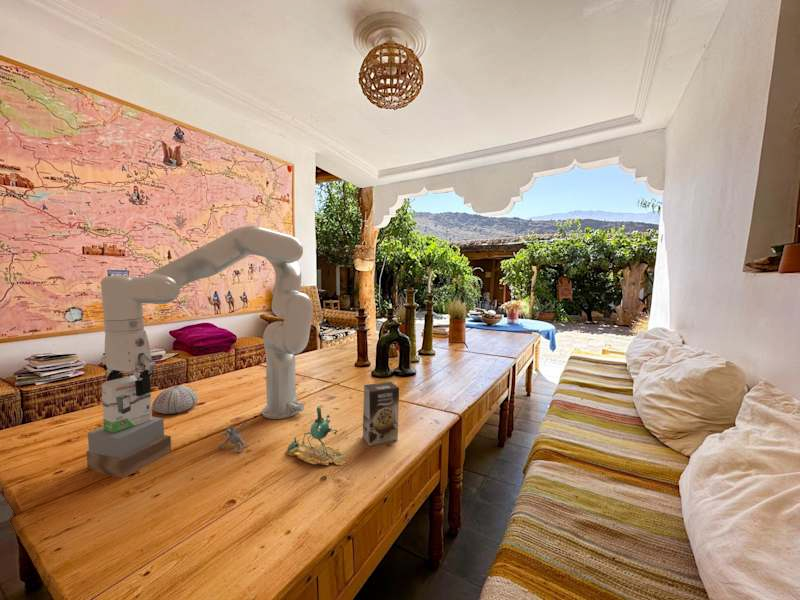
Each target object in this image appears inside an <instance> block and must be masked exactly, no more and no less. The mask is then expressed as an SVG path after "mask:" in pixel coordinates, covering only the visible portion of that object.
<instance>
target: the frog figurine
mask: <svg viewBox="0 0 800 600" xmlns="http://www.w3.org/2000/svg"><path fill="white" fill-rule="evenodd" d="M316 413H317V418H316V419H315V420H314V421H313V423H312V424H311V426H310V431H308V432H304V434H303V441H302V442H300V441H299V440H296V439H297V438H296V437H294V440H293V441H291V443H289V445H288V447H287V449H286V450H285V451H284V454H285V455H286V456H291V457H297V459H300V460H302V461H304V462H305V463H308V464H312V465H322V466H323V465H325V466H329V464H334V465H336V466H343V465H344V464H346V462H347V461H346V459H345V458H343V456H342V452H341V451H340V450H338V449H337V448H335V445H327V444H326V445H325V443H324V442H323V441H322V440H323V439H324V438H326V437H327V436H328V435H329V433H330V432H331V433H333V434H334V435H337V432H338V430H337V429H335V430H334V429H332V426H331V428H330V426H329V424H330V422H331V420H330V417H331V416H330V415H329V414H328V415H326V419H324V418H323V417H322V409H321V407H320V406H317V407H316ZM306 435H310V436H308V438H307V441H308V442H305V436H306ZM310 438H311V439H310ZM313 440H318V441H319V442H317V441H316V442H310V441H313Z"/></svg>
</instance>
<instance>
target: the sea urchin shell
mask: <svg viewBox="0 0 800 600" xmlns="http://www.w3.org/2000/svg"><path fill="white" fill-rule="evenodd" d="M197 394H198V393H197V392H196V391H194V389H193V388H191V387H189V386H186V385H173V386H170V387H168V388H166V389H165V390H164V389H163V390H162V391H161V392H160V393H159V394H158V395H157V396H156V397H155V399H154V400H153V402H152V403H151V408H153V410H154V412H156V413H158V414H161V415H162V414H163V415H168V414H169V415H175V414H177V413H178V414H179V413H183V412H184V411H188V410H189V409H191V408H193V407H195V405H197V403H198V401H199V396H198V395H197Z"/></svg>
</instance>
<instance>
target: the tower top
mask: <svg viewBox="0 0 800 600" xmlns="http://www.w3.org/2000/svg"><path fill="white" fill-rule="evenodd" d="M164 422H165V421H164V418H162V417H156V416H152V420H150V421H148V422H145V423H142V424H139V425H136V426H133V427H130V428H127V429H124V430H121V431H118V432H115V433H113V432H110V431H107V430H105V429H104V425H102V426H101V427H99V428H96V429H94V430H91V431H88V432H87V439H88V440H87V442H88V451H89V453H94V454H99V455H104V456H109V457H113V458H118V459H121V458H123V457H125V456H127V455H129V454H131V453H133V452H135V451H137V450H139V449H141V448H143V447H145V446H147V445H149V444H151V443H152V442H154V441H156V440H158V439H160V438H162V437H164V435H165V426H164V424H165V423H164Z"/></svg>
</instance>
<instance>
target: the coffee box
mask: <svg viewBox="0 0 800 600" xmlns="http://www.w3.org/2000/svg"><path fill="white" fill-rule="evenodd" d="M399 402H400V387H398V386H397V385H396V384H394V383H393V382H392V381H387V382H386V381H385V382H378V383H369V384H363V413H362V415H363V417H362V418H363V419H362V437H363V439H364V440H365V442H366V443H367V445H368V446H369V447H371V446H376V445H381V444H385V443H390V441H391V442H394V441H393V440H395V441H398V440H399V438H398V437H399V434H398V433H399ZM397 439H398V440H397Z"/></svg>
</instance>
